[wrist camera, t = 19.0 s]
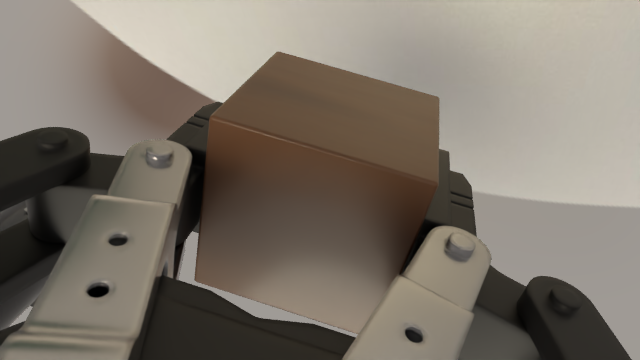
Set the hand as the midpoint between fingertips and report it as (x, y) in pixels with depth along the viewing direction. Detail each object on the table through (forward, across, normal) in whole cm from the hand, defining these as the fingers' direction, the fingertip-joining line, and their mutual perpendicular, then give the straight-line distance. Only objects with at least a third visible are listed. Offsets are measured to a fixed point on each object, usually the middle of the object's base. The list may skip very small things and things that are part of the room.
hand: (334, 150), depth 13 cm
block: (0, 0, 0) cm, 0 cm away
